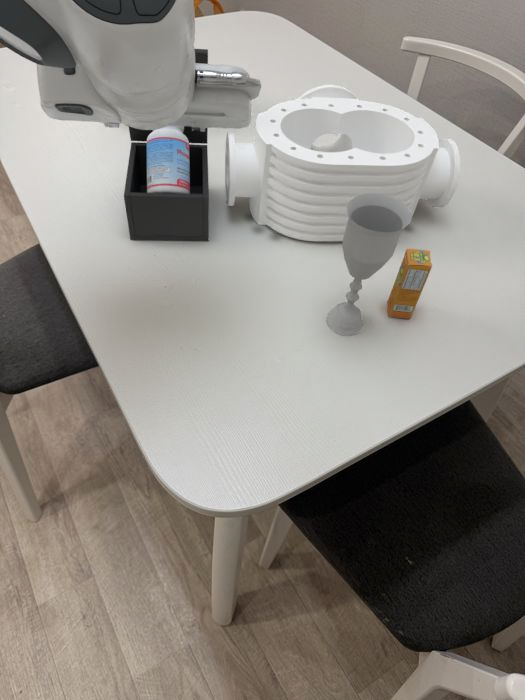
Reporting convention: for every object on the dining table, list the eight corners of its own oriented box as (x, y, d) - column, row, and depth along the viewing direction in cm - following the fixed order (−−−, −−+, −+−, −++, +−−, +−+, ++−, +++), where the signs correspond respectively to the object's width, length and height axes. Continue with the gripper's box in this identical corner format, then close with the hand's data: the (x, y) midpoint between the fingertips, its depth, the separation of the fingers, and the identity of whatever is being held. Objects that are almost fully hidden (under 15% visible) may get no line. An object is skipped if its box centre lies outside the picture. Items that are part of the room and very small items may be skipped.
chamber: (208, 241, 78) (208, 197, 72) (130, 240, 76) (123, 195, 70) (207, 188, 86) (207, 144, 80) (136, 186, 85) (131, 141, 79)
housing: (229, 244, 78) (233, 160, 67) (221, 162, 91) (223, 80, 80) (445, 244, 82) (483, 165, 71) (407, 165, 96) (434, 88, 85)
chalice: (333, 346, 67) (367, 238, 53) (309, 310, 71) (335, 199, 56) (380, 332, 69) (424, 224, 55) (354, 297, 73) (390, 188, 59)
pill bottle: (187, 192, 71) (186, 110, 71) (143, 192, 71) (142, 110, 71) (191, 203, 77) (191, 128, 77) (151, 203, 77) (150, 128, 77)
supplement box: (384, 300, 73) (406, 245, 65) (408, 303, 73) (433, 249, 65) (385, 317, 71) (408, 263, 63) (410, 320, 71) (436, 267, 63)
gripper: (264, 39, 45) (248, 97, 58) (17, 22, 42) (61, 87, 56) (263, 115, 45) (248, 155, 59) (21, 103, 43) (63, 147, 56)
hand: (155, 122), depth 57 cm, fingers open, 8 cm apart
